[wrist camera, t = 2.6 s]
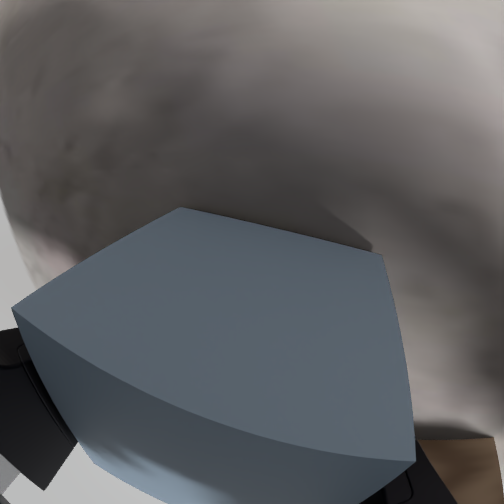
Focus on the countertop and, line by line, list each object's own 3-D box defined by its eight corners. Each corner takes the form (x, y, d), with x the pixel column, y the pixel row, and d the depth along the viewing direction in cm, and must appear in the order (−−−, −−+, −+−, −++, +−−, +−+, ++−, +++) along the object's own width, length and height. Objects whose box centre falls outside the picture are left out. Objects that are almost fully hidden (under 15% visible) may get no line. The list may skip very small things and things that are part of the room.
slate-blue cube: (381, 254, 8) (415, 461, 2) (323, 395, 10) (289, 540, 5) (180, 206, 9) (11, 307, 3) (178, 350, 11) (93, 463, 6)
